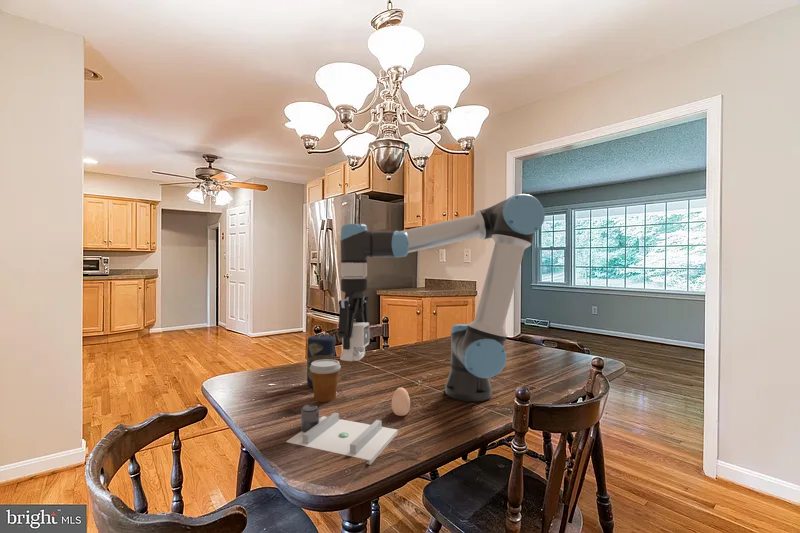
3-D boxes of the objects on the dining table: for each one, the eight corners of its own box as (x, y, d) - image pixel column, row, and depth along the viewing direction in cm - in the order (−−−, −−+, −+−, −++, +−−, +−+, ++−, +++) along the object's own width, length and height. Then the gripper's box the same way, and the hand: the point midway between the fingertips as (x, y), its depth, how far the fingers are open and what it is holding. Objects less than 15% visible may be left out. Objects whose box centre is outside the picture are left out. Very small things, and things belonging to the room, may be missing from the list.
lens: (322, 426, 97) (322, 405, 97) (312, 433, 93) (312, 411, 93) (307, 424, 99) (307, 402, 99) (297, 431, 95) (297, 408, 95)
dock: (397, 433, 96) (397, 421, 96) (370, 464, 81) (370, 451, 81) (323, 419, 104) (323, 408, 104) (285, 445, 89) (285, 433, 89)
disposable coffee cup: (325, 409, 111) (326, 368, 111) (302, 402, 116) (303, 364, 116) (346, 399, 119) (347, 361, 119) (324, 393, 124) (324, 357, 124)
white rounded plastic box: (363, 361, 106) (362, 325, 106) (339, 360, 107) (339, 325, 107) (369, 355, 112) (369, 322, 112) (347, 354, 113) (346, 321, 113)
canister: (301, 386, 131) (301, 335, 131) (317, 379, 140) (317, 330, 139) (324, 390, 127) (325, 337, 127) (339, 382, 136) (339, 332, 136)
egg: (408, 412, 109) (408, 384, 109) (411, 420, 104) (412, 390, 104) (390, 413, 109) (390, 385, 109) (392, 421, 103) (393, 391, 103)
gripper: (358, 276, 120) (358, 348, 120) (324, 279, 101) (324, 364, 102) (380, 276, 117) (380, 350, 117) (348, 279, 99) (349, 367, 99)
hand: (354, 357), depth 109 cm, fingers closed on white rounded plastic box, 7 cm apart
